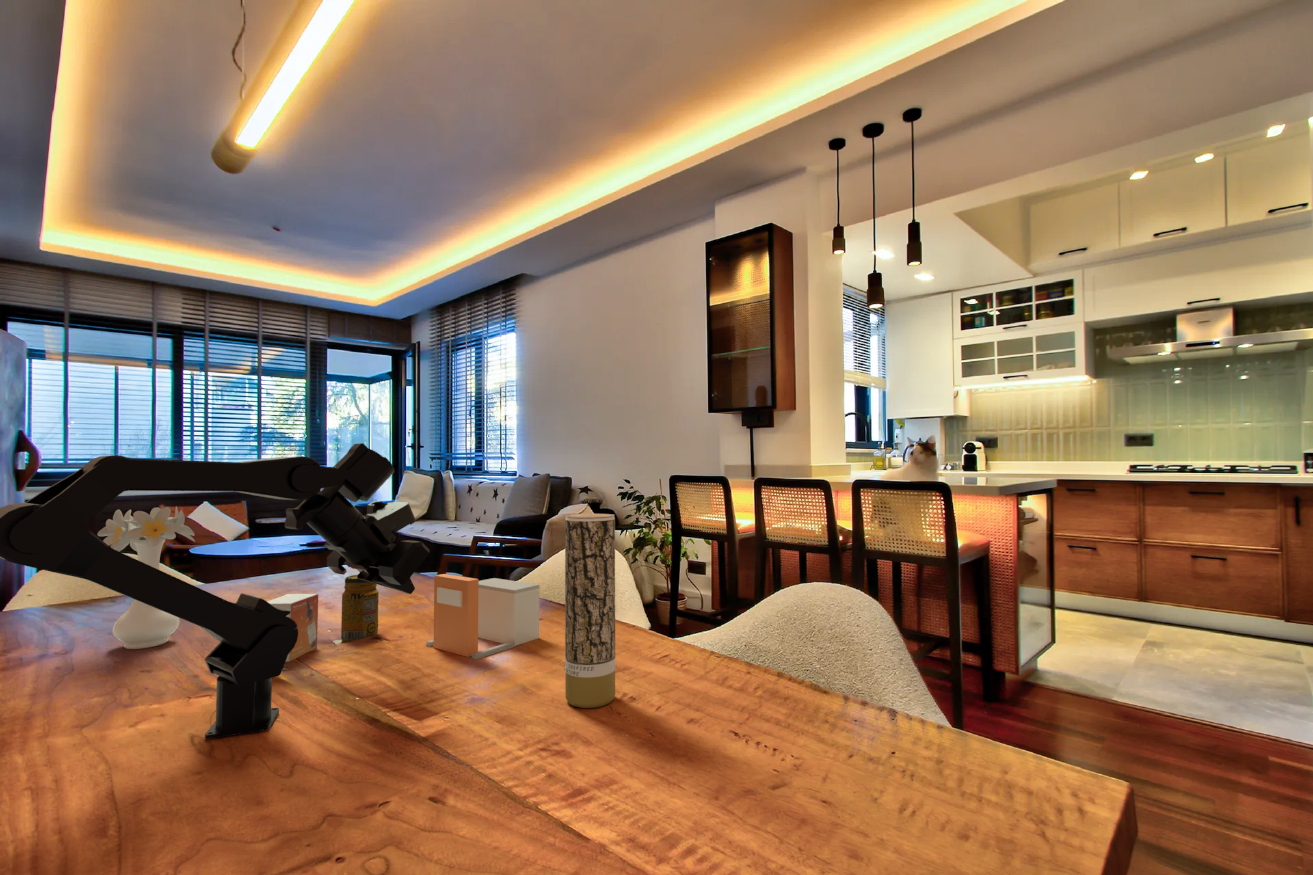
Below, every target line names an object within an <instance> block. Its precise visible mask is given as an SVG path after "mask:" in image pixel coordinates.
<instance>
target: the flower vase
mask: <svg viewBox="0 0 1313 875" xmlns="http://www.w3.org/2000/svg"><path fill="white" fill-rule="evenodd" d="M171 510H172V509H171V508H170V507H169V506H165V507H162V508H160V507H153V508H152V509H151V511H150V513H147V512H145V511H142V510H137V511H135V512H133V514H132V515H133V516H132V515H131V513H132V509H129V510H128V511H126V512H125V514H124V515H123V513H122V511H121V510H120V509H117V510H115V512H114V514H113V516H112V519H110V518H108V519H107V520H106V522H105V527H104V526H103V528H102V529H100V530H99V531H98V532H97V535H96V536H97V537H105V538H104V539H103V540H102V541H103V542H105V543H106V544H107V545H108V546H110V547H111V548H113V549H114V550H116V551H119V552H121V551H123V550H124V549H125V548H126V547H127V546H130V548H131V549H132V550H133V551H135V552H136V553H137V560H138V561H141V562H143V563H145V564H147V565H149V566H152V567H154V568H156V569H158V570H160V558H161V554H162V549H163V546H164V543H165V542H166V540H174V539H176V536H177V535H176V533H177V534H179V535H182V536H184V537H186V538H187V539H189V540H190V541H193V542H194V543H196V540H195V539H194V538H193V537H194V536H195V535H196V534H195V532H194V531H193V530H192V529H191V528H190V527H189V526H188V525H185V524H184V523H185V521H186V520H185V519H186V516H185V513H184V511H183V510H180V511H179V510H178V507H177V506H175V511H174V516H171V517H170V515H171V513H172V511H171ZM192 536H193V537H192ZM180 623H181V622H180V618H178V617H176V616H173V615H171V614H168V613H166V612H164V611H161V610H159V609H156V608H154V607H151V606H149V605H147V604H144V603H142V602H139V601H137V600H135V599H132V602H131V604H130V606H129V607H128V608H127V610H126V611H125V612H124V613H123V614H122V615H121V616H120V617H119V618H118V619H117V620H116V621H115V623H114V625H113V627H112V635H113V636H114V637H115V638H116V639H117V640H119V641H120V642H123V643H124V644H123V648H124V649H127V650H139V649H148V648H153V647H157V646H161V645H164V644H166V643H167V642H168V640H169V636H171V635H172V634H174V632H175V631H176V630H177V629H178V627H179V626H180Z"/></svg>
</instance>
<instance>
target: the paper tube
mask: <svg viewBox="0 0 1313 875" xmlns="http://www.w3.org/2000/svg"><path fill="white" fill-rule="evenodd" d="M564 521H565V522H564V527H565V528H564V529H565V531H564V533H565V534H564V540H565V541H564V543H565V544H564V547H565V548H564V550H565V553H564V554H565V555H564V556H565V557H564V558H565V560H564V562H565V563H564V567H565V568H564V569H565V570H564V576H565V577H564V579H565V580H564V584H565V586H564V587H565V588H564V597H565V598H564V602H565V603H564V604H565V607H564V611H565V612H564V613H565V614H564V617H565V618H564V621H565V623H564V627H565V628H564V635H565V637H564V639H565V642H564V646H565V647H564V648H565V650H564V653H565V654H564V658H565V659H564V661H565V662H564V666H565V667H564V670H565V672H564V673H565V676H564V677H565V678H564V680H565V684H564V685H565V688H564V691H565V693H564V695H565V700H566V701H567V703H568V704H569V705H571V706H573V707H576V708H583V709H594V708H600V707H604V706H607V705H608V704H610V703H612V701H613V700H614V699H615V697H616V518H615V514H610V513H575V514H573V513H572V514H566V515H565V518H564Z"/></svg>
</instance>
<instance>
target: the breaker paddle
mask: <svg viewBox="0 0 1313 875" xmlns="http://www.w3.org/2000/svg"><path fill="white" fill-rule="evenodd" d="M433 578H434V579H433V581H434V582H433V583H434V584H433V640H434V646H433V649H438V650H441V651H445V652H448V653H452V654H456V655H459V656H464V657H466V658H468V657H472V653H475V652H479V638H478V590H479V581H480V580H479V578H474V577H467V576H463V575H462V576H461V575H454V574H447V573H443V574H441V573H440V574H436V575H434V576H433Z"/></svg>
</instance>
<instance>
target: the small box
mask: <svg viewBox="0 0 1313 875" xmlns="http://www.w3.org/2000/svg"><path fill="white" fill-rule="evenodd" d="M266 601H267V602H268V603H270V604H271V605H272V606H274V607H277V608H281V609H284V610H288V611H290V612H291V613H290V614H289V615H287V616H286V617H289V618H291V619H292V620H294V621H295V622H296V624H297V626H298V627H297V629H298V638H297V642H296V644H295V646H294V648H293V649H292V650H291V652H290V653H289V654H288V656H287V659H286V661H285V663H287V662H288V663H289V662H291V661H293V660H296V659H298V658H299V657H301V656H303V655H305V654H307V653H309V652H312V651H317V650H318V631H319V630H318V627H319V626H318V624H319V623H318V620H319V619H318V618H319V617H318V616H319V593H287V594H285V595H282V596H279V597H276V598H273V599H270V600H266ZM289 670H290V669H288V668H287V667H285V666H284V667H283V669H282V671H289Z"/></svg>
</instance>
